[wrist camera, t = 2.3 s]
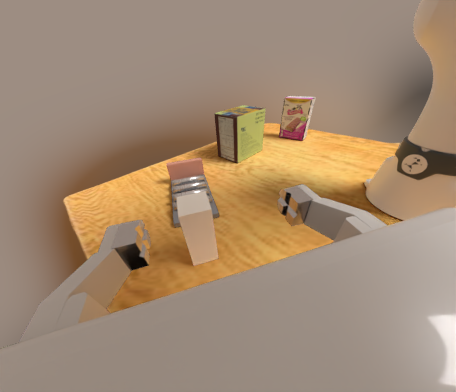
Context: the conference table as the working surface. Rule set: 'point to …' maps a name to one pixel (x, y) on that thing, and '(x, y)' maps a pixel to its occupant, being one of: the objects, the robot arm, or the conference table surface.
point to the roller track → (188, 183)
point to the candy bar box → (296, 117)
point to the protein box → (239, 132)
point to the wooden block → (198, 227)
